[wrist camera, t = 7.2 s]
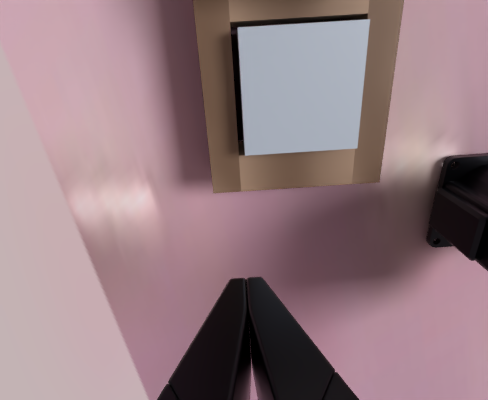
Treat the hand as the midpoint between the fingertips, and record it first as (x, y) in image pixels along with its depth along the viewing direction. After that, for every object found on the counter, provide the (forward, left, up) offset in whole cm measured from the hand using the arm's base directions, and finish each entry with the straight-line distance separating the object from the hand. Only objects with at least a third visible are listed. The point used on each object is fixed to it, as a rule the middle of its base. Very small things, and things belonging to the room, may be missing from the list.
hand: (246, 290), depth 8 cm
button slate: (-3, -4, -11) cm, 12 cm away
